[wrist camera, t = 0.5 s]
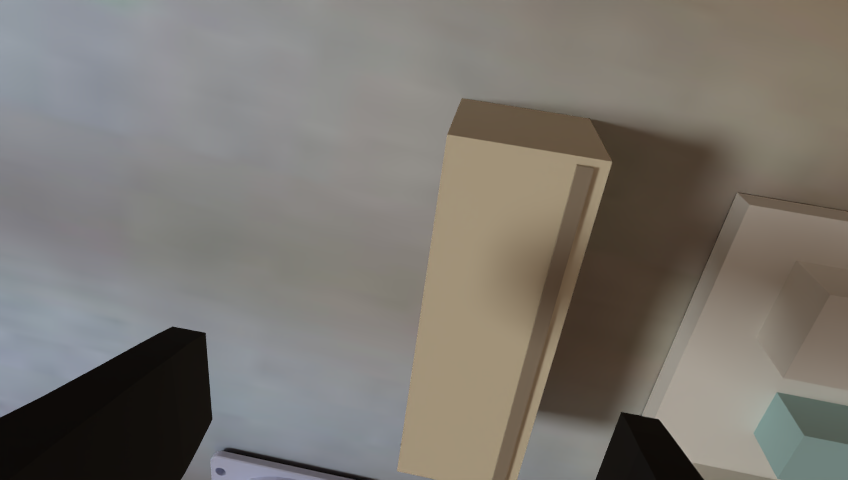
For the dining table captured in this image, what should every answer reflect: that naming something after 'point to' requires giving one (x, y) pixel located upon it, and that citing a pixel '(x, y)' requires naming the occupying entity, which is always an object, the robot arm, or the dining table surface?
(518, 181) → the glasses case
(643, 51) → the dining table surface
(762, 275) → the display stand
